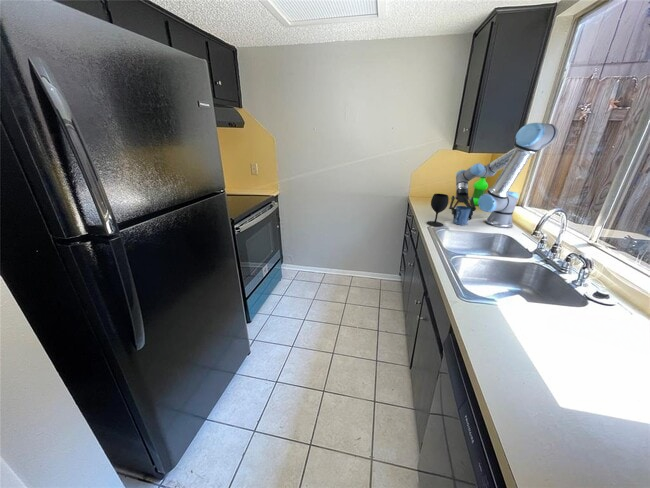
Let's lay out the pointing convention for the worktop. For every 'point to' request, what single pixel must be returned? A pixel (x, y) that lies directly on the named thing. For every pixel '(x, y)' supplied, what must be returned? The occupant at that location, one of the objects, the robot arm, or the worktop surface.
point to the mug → (462, 215)
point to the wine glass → (438, 207)
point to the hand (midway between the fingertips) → (462, 218)
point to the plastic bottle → (479, 189)
